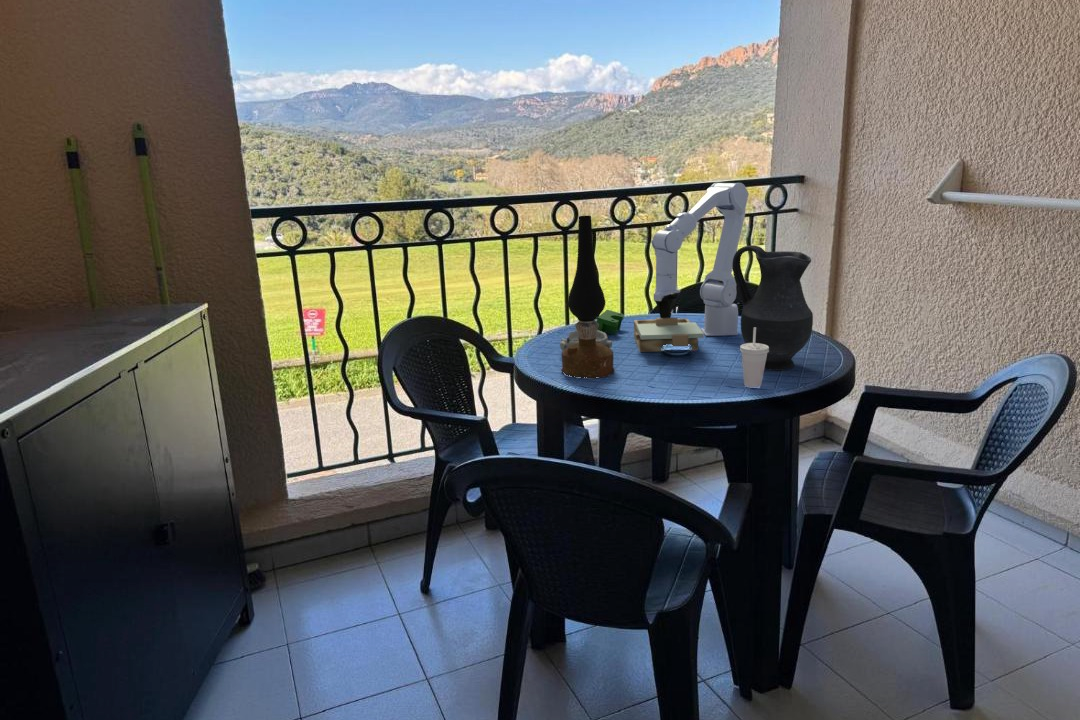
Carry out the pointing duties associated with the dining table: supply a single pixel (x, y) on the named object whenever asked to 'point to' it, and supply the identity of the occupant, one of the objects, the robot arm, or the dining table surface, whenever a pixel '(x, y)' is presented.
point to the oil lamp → (586, 314)
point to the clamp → (609, 321)
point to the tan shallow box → (657, 344)
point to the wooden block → (637, 336)
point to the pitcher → (775, 305)
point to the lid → (670, 331)
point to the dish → (574, 335)
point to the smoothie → (753, 361)
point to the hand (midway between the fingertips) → (665, 321)
